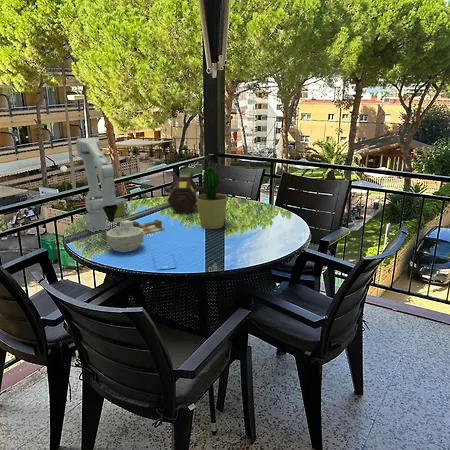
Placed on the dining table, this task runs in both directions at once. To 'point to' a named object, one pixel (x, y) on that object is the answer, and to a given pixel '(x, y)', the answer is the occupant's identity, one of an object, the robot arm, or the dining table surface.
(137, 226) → the bracket
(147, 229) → the pipe stand
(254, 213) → the dining table surface
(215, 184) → the potted cactus
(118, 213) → the plant pot
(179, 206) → the lantern
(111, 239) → the paper bowls
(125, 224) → the pale sage cube
